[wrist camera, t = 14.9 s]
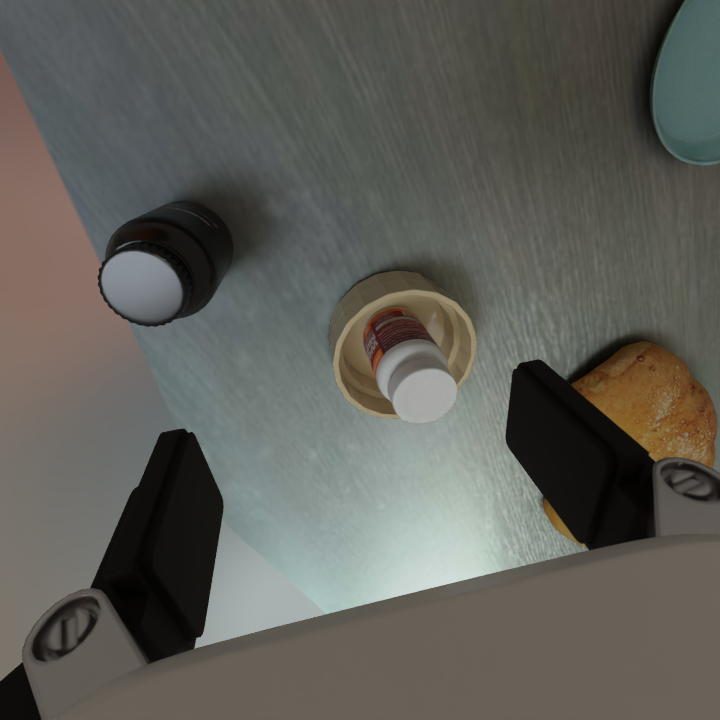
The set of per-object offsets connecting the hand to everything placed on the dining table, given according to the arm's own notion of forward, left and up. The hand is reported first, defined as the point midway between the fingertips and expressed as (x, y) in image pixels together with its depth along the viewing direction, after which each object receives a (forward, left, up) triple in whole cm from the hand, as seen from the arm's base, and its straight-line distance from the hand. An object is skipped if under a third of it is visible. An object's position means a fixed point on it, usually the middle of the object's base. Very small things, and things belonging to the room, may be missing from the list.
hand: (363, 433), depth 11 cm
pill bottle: (+6, -10, -26) cm, 28 cm away
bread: (+35, -32, -26) cm, 54 cm away
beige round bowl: (+6, -10, -26) cm, 29 cm away
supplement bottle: (-10, +1, -26) cm, 28 cm away
